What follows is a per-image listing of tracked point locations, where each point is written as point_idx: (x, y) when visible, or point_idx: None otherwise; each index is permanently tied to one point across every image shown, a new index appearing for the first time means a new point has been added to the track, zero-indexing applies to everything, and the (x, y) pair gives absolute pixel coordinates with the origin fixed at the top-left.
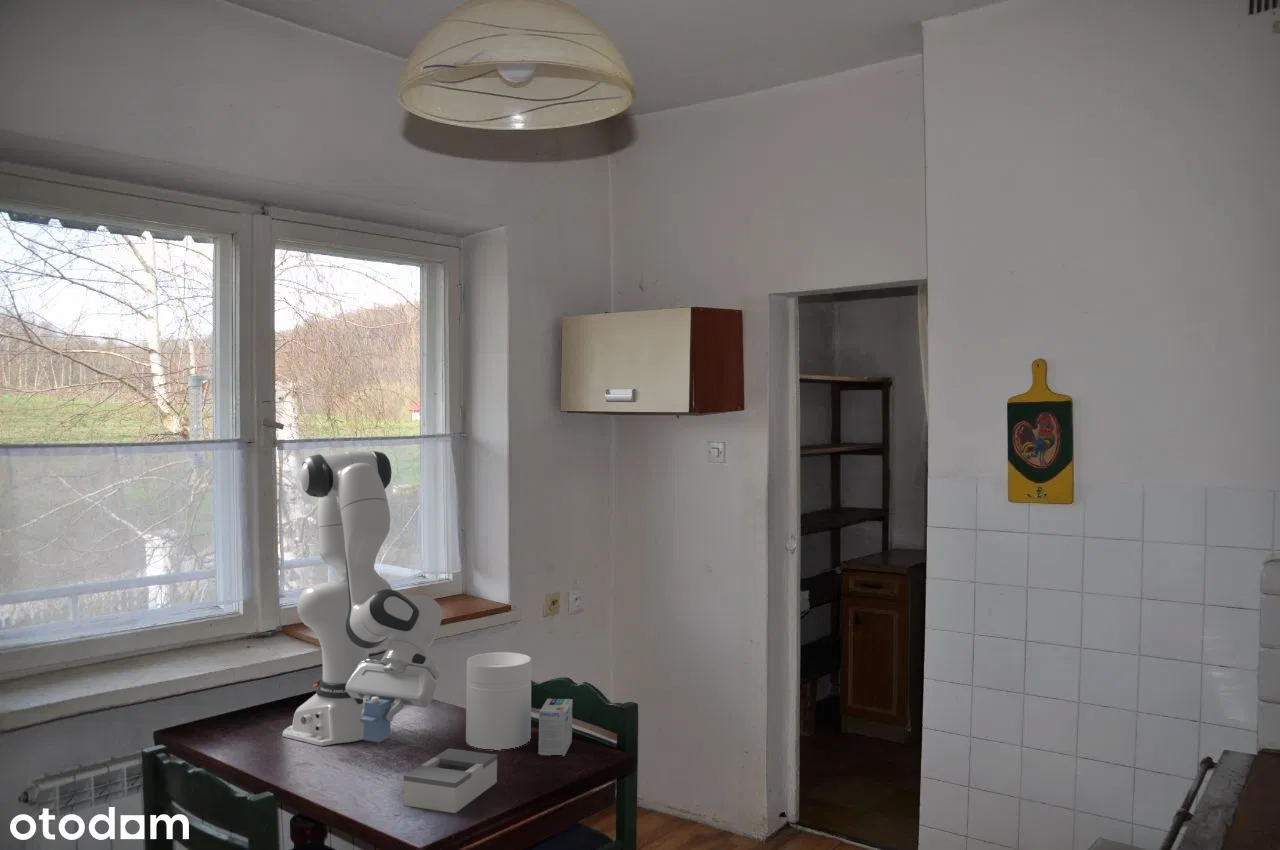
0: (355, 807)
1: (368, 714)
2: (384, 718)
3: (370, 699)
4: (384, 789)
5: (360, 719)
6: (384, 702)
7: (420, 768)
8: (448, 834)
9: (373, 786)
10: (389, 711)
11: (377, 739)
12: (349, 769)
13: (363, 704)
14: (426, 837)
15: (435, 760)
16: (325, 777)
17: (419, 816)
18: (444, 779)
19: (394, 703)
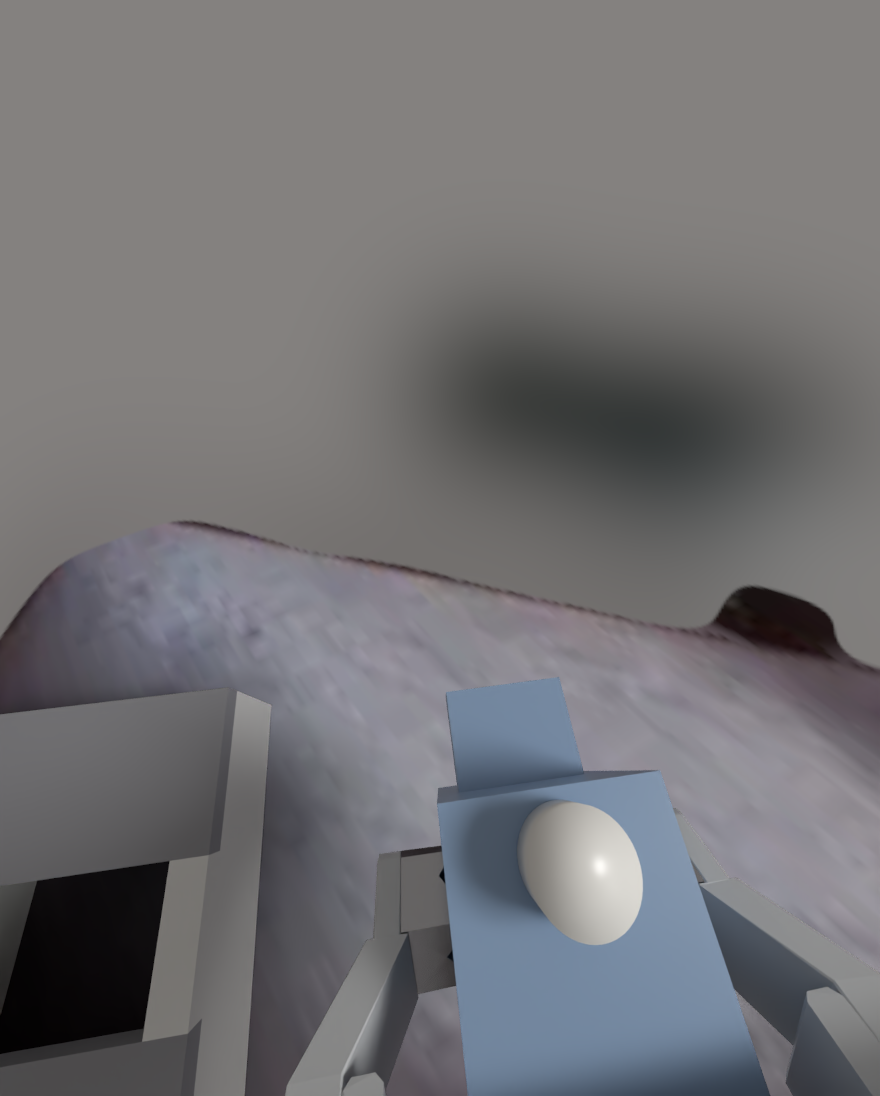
0: (405, 622)
1: (563, 778)
2: (424, 849)
3: (819, 1060)
4: (422, 802)
5: (551, 679)
6: (458, 929)
7: (189, 808)
8: (42, 592)
9: None
10: (393, 920)
11: (452, 786)
12: None
13: (770, 900)
14: (102, 554)
15: (155, 986)
16: (712, 793)
17: (177, 655)
18: (19, 735)
19: (369, 1079)
